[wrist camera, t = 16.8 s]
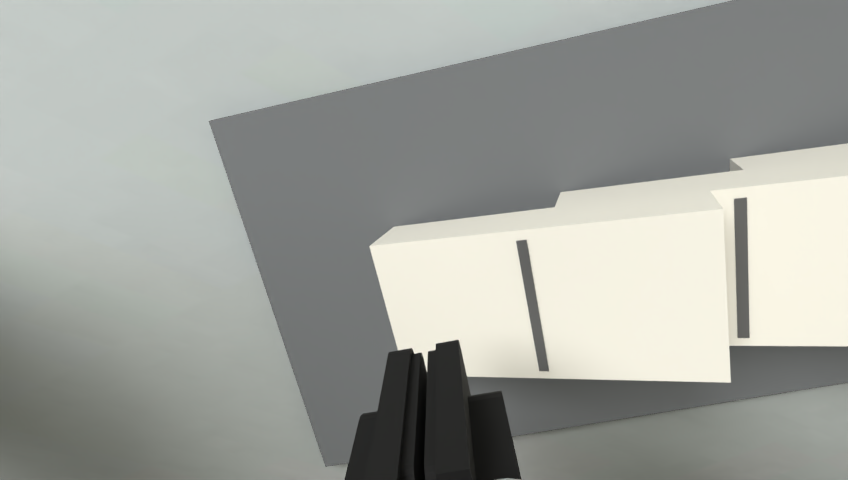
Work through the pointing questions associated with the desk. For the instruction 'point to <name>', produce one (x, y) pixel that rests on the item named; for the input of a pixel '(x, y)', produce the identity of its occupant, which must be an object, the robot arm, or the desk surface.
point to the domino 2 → (773, 247)
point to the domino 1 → (567, 290)
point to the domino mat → (524, 185)
